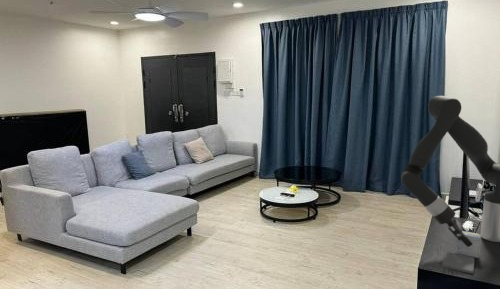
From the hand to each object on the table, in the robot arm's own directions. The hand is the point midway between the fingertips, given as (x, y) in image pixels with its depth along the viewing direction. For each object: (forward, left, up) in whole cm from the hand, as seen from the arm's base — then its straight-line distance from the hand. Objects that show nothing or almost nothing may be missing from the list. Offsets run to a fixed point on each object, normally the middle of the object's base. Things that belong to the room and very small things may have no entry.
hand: (469, 241), depth 144 cm
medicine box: (0, 0, -6) cm, 6 cm away
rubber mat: (+9, -6, -6) cm, 12 cm away
